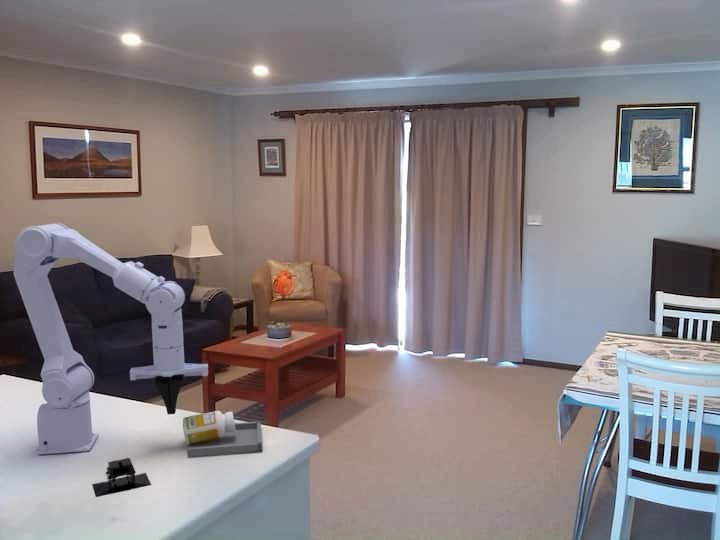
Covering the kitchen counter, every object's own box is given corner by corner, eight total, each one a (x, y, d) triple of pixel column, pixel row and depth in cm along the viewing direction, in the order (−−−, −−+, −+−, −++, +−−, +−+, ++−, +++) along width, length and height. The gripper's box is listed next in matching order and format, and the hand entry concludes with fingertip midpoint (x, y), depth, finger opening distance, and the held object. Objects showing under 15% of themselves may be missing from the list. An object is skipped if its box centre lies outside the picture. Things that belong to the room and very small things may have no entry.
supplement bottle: (188, 443, 132) (236, 433, 134) (185, 446, 127) (235, 436, 129) (184, 416, 133) (232, 407, 135) (181, 418, 128) (231, 408, 130)
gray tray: (187, 457, 125) (187, 449, 125) (192, 433, 137) (192, 425, 136) (262, 451, 127) (261, 444, 127) (260, 428, 139) (260, 421, 139)
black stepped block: (85, 505, 108) (83, 479, 108) (80, 486, 115) (79, 462, 114) (162, 488, 114) (161, 463, 113) (154, 471, 120) (152, 447, 120)
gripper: (125, 352, 122) (129, 422, 124) (205, 348, 124) (208, 417, 126) (131, 343, 129) (135, 409, 131) (207, 339, 131) (210, 404, 133)
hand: (171, 412), depth 129 cm, fingers closed
